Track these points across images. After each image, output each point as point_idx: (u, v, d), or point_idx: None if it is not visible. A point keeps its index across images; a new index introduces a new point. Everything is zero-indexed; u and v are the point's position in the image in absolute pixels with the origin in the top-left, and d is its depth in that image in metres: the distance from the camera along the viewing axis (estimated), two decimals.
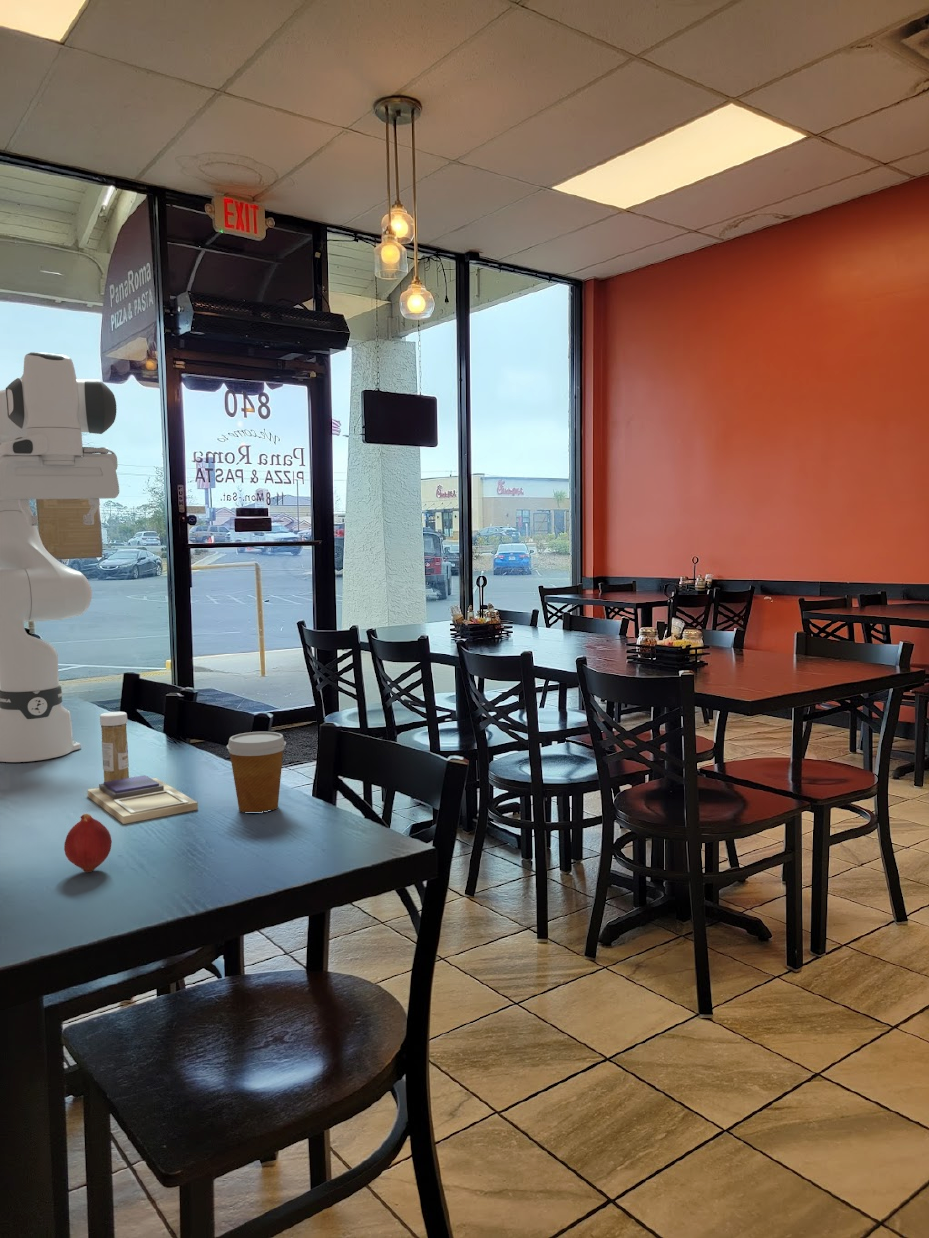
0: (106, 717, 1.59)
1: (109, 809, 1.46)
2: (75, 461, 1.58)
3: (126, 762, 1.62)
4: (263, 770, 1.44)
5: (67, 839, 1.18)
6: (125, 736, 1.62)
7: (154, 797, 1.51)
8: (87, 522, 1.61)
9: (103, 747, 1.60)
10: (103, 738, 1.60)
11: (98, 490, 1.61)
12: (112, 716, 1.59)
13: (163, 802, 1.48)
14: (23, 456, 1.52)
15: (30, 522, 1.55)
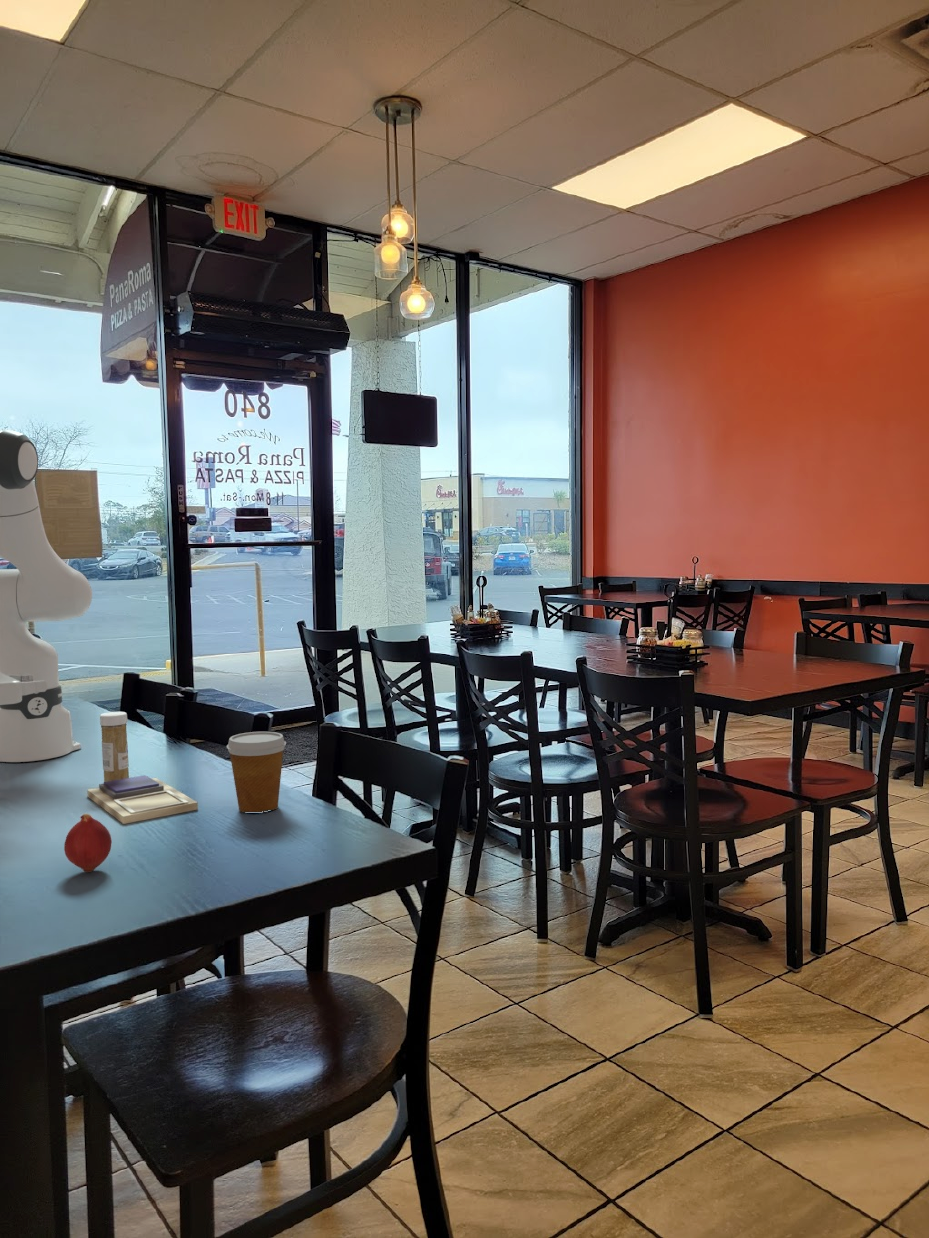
0: (106, 717, 1.59)
1: (109, 809, 1.46)
2: None
3: (126, 762, 1.62)
4: (263, 770, 1.44)
5: (67, 839, 1.18)
6: (125, 736, 1.62)
7: (154, 797, 1.51)
8: None
9: (103, 747, 1.60)
10: (103, 738, 1.60)
11: None
12: (112, 716, 1.59)
13: (163, 802, 1.48)
14: None
15: None
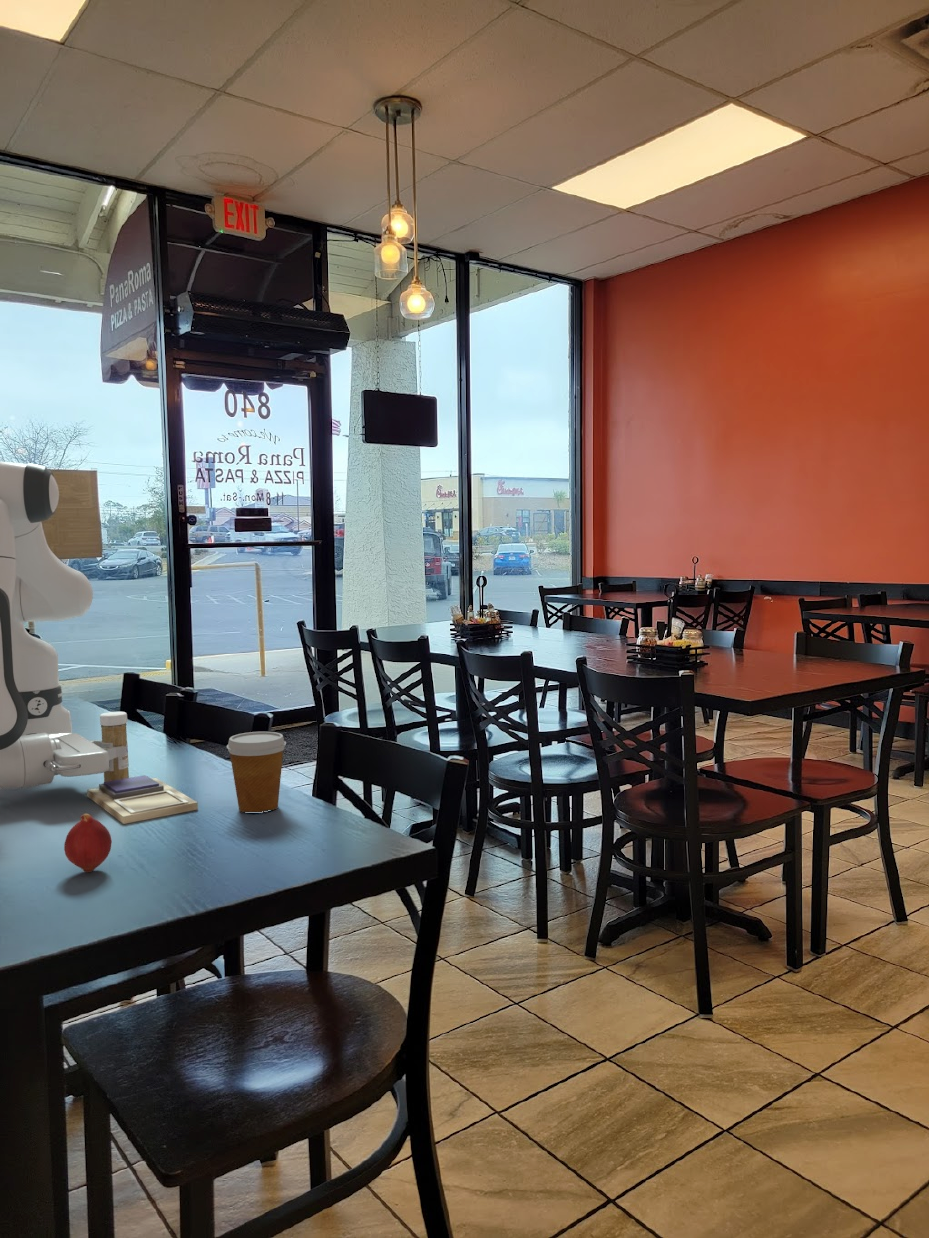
0: (106, 717, 1.59)
1: (109, 809, 1.46)
2: None
3: (126, 762, 1.62)
4: (263, 770, 1.44)
5: (67, 839, 1.18)
6: (125, 736, 1.62)
7: (154, 797, 1.51)
8: None
9: (103, 747, 1.60)
10: (103, 738, 1.60)
11: None
12: (112, 716, 1.59)
13: (163, 802, 1.48)
14: None
15: None
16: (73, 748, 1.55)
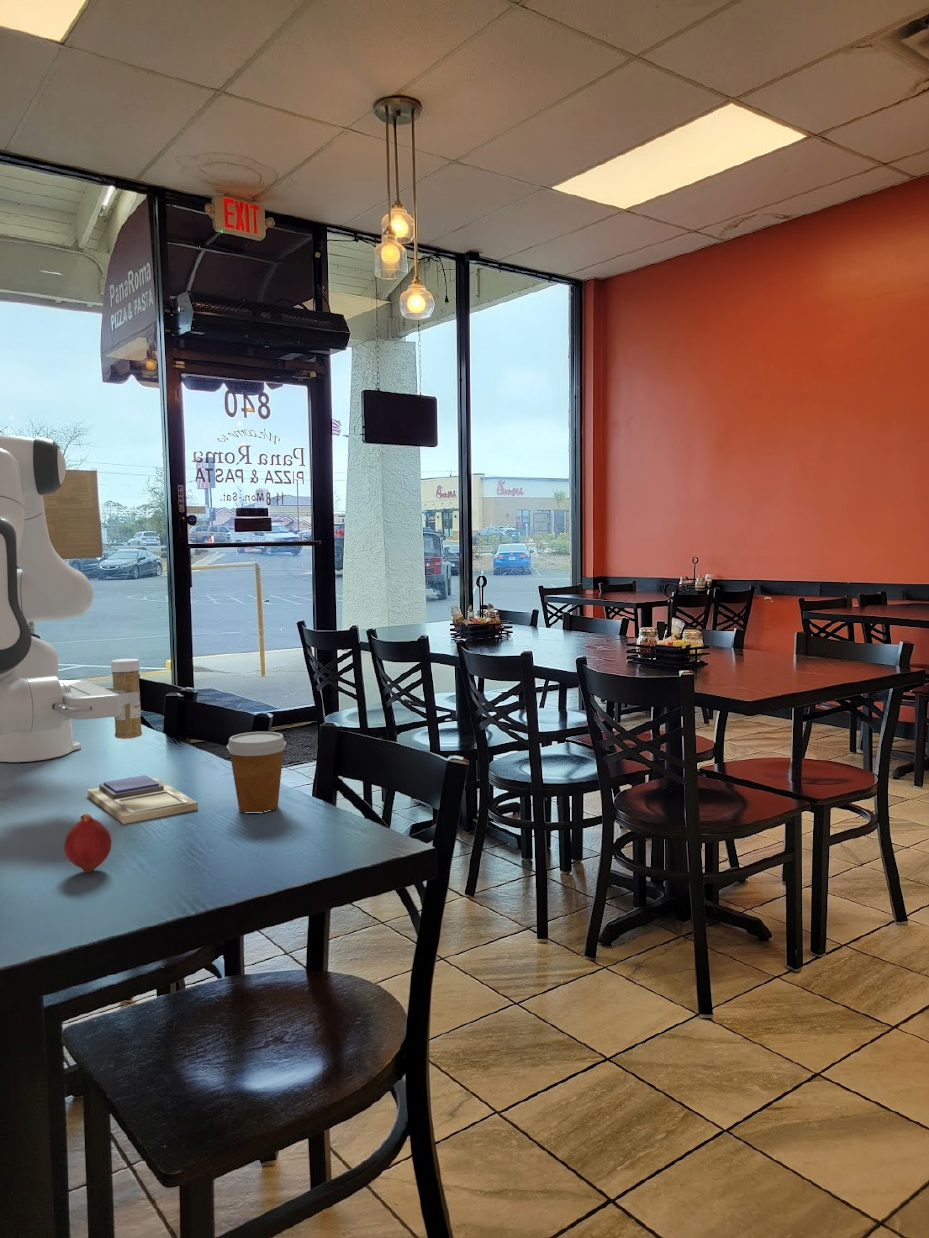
0: (117, 663, 1.52)
1: (109, 809, 1.46)
2: None
3: (138, 711, 1.54)
4: (263, 770, 1.44)
5: (67, 839, 1.18)
6: (137, 684, 1.54)
7: (154, 797, 1.51)
8: None
9: None
10: (114, 685, 1.53)
11: None
12: (124, 662, 1.52)
13: (163, 802, 1.48)
14: None
15: None
16: (83, 692, 1.47)
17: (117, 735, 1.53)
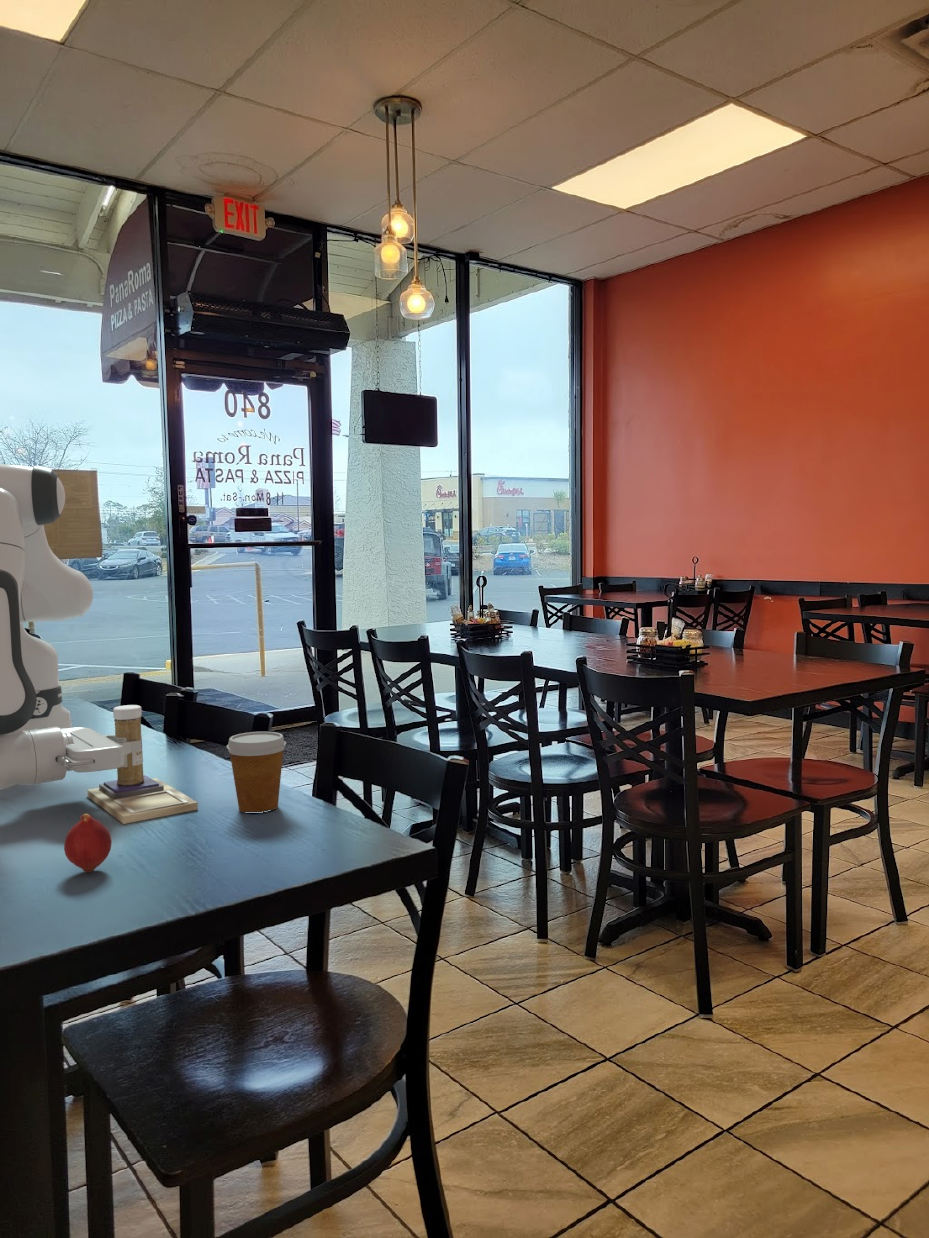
0: (119, 710, 1.52)
1: (109, 809, 1.46)
2: None
3: (140, 758, 1.55)
4: (263, 770, 1.44)
5: (67, 839, 1.18)
6: (139, 730, 1.55)
7: (154, 797, 1.51)
8: None
9: (116, 742, 1.53)
10: (116, 732, 1.53)
11: None
12: (126, 709, 1.52)
13: (163, 802, 1.48)
14: None
15: None
16: (86, 743, 1.48)
17: (119, 782, 1.54)
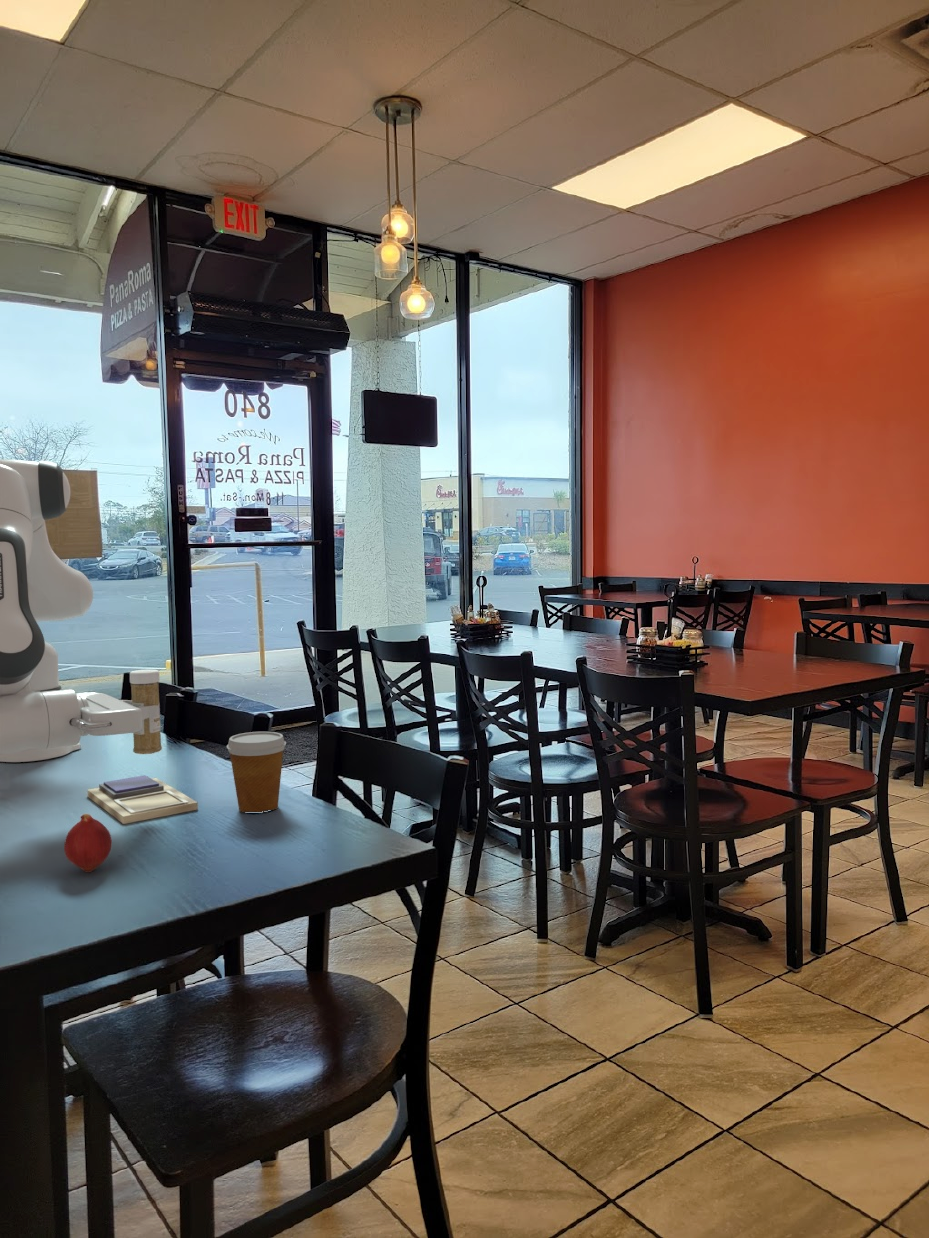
0: (136, 674, 1.44)
1: (109, 809, 1.46)
2: None
3: (158, 725, 1.46)
4: (263, 770, 1.44)
5: (67, 839, 1.18)
6: (157, 696, 1.46)
7: (154, 797, 1.51)
8: None
9: None
10: (133, 698, 1.45)
11: None
12: (143, 673, 1.44)
13: (163, 802, 1.48)
14: None
15: None
16: (102, 706, 1.40)
17: (136, 750, 1.45)
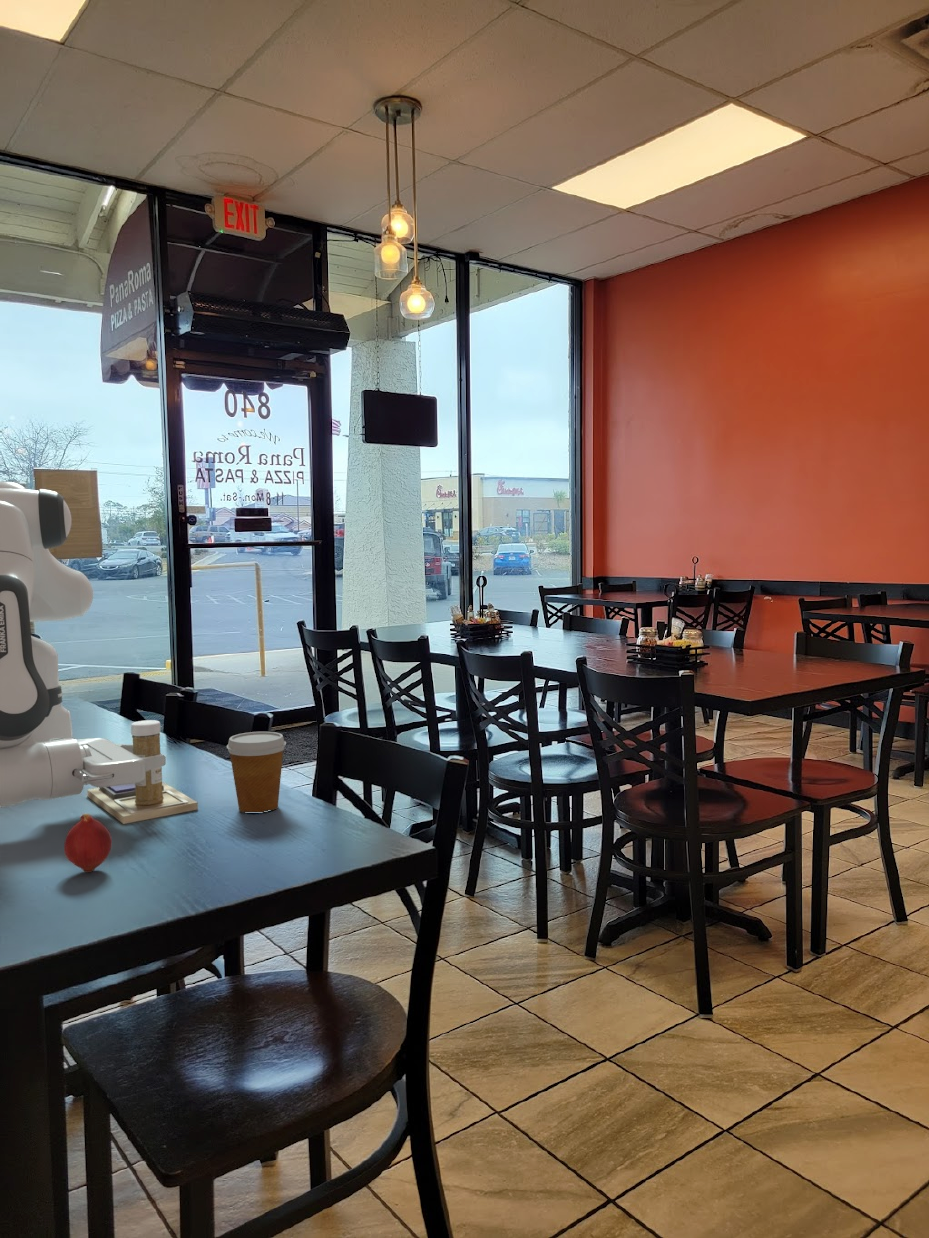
0: (138, 726, 1.45)
1: (109, 809, 1.46)
2: None
3: (159, 776, 1.47)
4: (263, 770, 1.44)
5: (67, 839, 1.18)
6: (158, 747, 1.47)
7: None
8: None
9: None
10: (134, 749, 1.46)
11: None
12: (144, 725, 1.45)
13: (163, 802, 1.48)
14: None
15: None
16: (104, 755, 1.40)
17: (138, 801, 1.46)
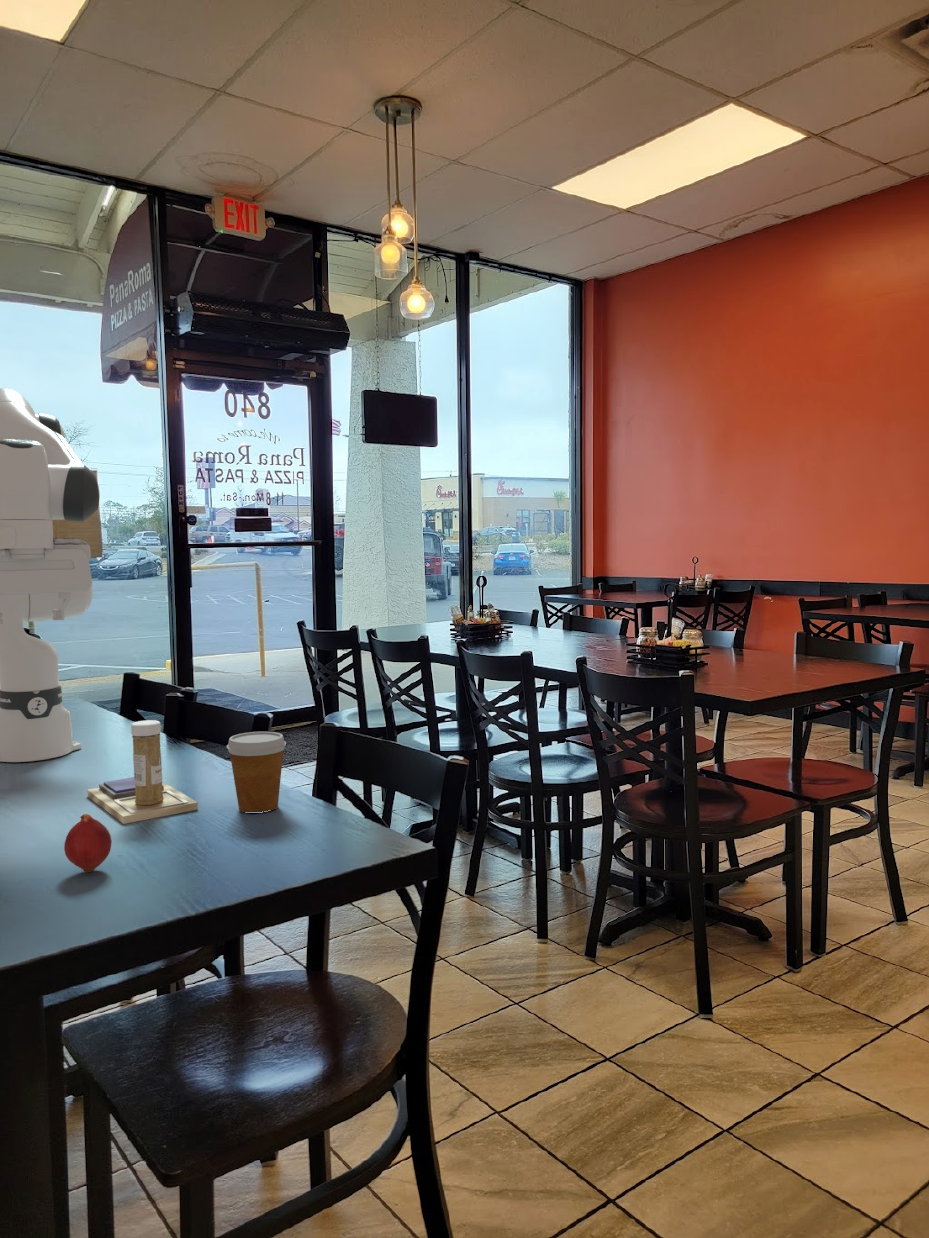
0: (138, 726, 1.45)
1: (109, 809, 1.46)
2: (45, 554, 1.48)
3: (160, 776, 1.47)
4: (263, 770, 1.44)
5: (67, 839, 1.18)
6: (158, 747, 1.47)
7: None
8: (57, 618, 1.50)
9: (135, 759, 1.46)
10: (135, 749, 1.46)
11: (70, 584, 1.50)
12: (144, 725, 1.45)
13: (163, 802, 1.48)
14: None
15: None
16: None
17: (138, 801, 1.46)
